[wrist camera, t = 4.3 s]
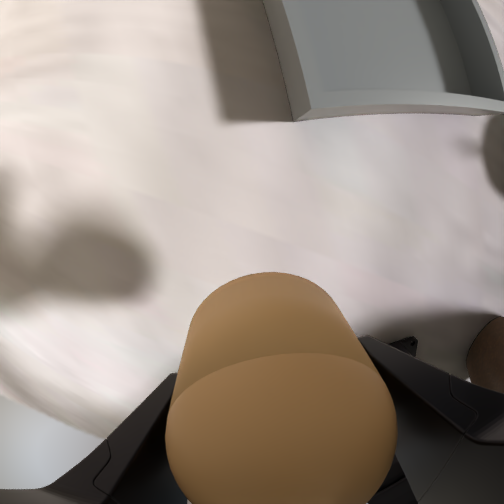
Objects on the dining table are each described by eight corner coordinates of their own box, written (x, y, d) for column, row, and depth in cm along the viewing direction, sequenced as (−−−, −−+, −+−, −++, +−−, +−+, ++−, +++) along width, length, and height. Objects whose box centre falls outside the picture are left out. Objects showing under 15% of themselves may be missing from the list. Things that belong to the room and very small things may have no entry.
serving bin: (475, 115, 16) (513, 113, 12) (293, 121, 16) (311, 109, 12) (419, -38, 11) (442, -57, 7) (243, -56, 11) (245, -91, 7)
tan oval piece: (344, 380, 10) (403, 523, 4) (212, 406, 10) (204, 558, 4) (337, 255, 9) (479, 416, 2) (167, 290, 9) (83, 484, 2)
